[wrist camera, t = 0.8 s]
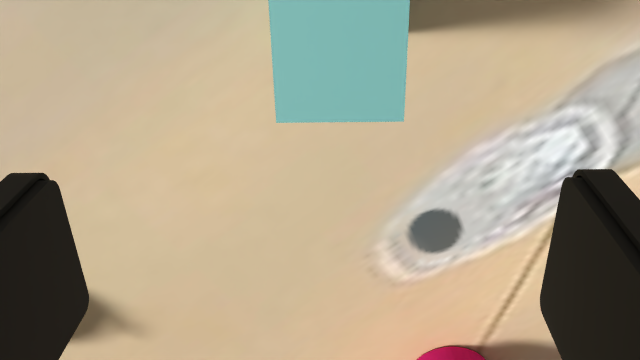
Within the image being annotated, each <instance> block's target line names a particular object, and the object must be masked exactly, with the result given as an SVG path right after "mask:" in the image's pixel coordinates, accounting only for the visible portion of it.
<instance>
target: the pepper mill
mask: <svg viewBox="0 0 640 360" xmlns="http://www.w3.org/2000/svg"><path fill="white" fill-rule="evenodd" d="M417 360H485V359H484V357H483V356H481V355H480V354H478V353H477V352H475V351H472V350H470V349H467V348H462V347H455V346H454V347H442V348H438V349H434V350H432V351H429V352H427V353H425V354H423V355H422V356H421V357H419V358H418V359H417Z"/></svg>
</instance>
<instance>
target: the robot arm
mask: <svg viewBox="0 0 640 360" xmlns="http://www.w3.org/2000/svg"><path fill="white" fill-rule="evenodd" d="M88 303H89V294H88V290H87V286H86V282H85V279H84V275H83V272H82V268H81V264H80V261H79V257H78V253H77V250H76V246H75V243H74V239H73V235H72V232H71V228H70V225H69V221H68V217H67V214H66V210H65V206H64V203H63V199H62V196H61V192H60V189H59V186H58V184H57V183H56V182H55V181H54V180H50V179H49V178H48V176H47V175H46V174H44V173H11V174H9V175H7V176H6V177H5V178H4V179H3V180H2V181H1V182H0V360H59V358H60V356H61V355H62V353H63V351H64V349H65V348H66V346H67V344H68V342H69V341H70V339H71V337H72V336H73V334H74V332H75V330H76V329H77V327H78V325H79V323H80V322H81V320H82V318H83V317H84V315H85V313H86V311H87V308H88ZM540 306H541V311H542V314H543V317H544V319H545V321H546V324H547V326H548V328H549V330H550V333H551V335H552V337H553V340H554V342H555V344H556V346H557V349H558V351H559V353H560V355H561V358H562V360H640V200H639V199H638V197H637V196H636V195H635V194H634V193H633V192H632V191H631V190H630V188H629V187H628V186H627V185H626V184H625V183H624V182H623V180H622V179H621V178H620V177H619V176H618V175H617V174H616V173H615V172H614V171H613V170H612V169H582V170H577V171H576V172H575V173H574V175H573V177H566V178H565V179H564V181H563V184H562V187H561V192H560V197H559V203H558V208H557V213H556V218H555V223H554V228H553V233H552V238H551V243H550V248H549V253H548V258H547V263H546V268H545V274H544V279H543V284H542V289H541V294H540Z"/></svg>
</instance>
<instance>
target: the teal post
mask: <svg viewBox="0 0 640 360" xmlns="http://www.w3.org/2000/svg"><path fill="white" fill-rule="evenodd" d="M268 1H269V16H270V32H271V47H272V63H273V79H274V94H275V110H276V123H293V122H398V121H404V107H405V87H406V67H407V47H408V27H409V7H410V0H268Z"/></svg>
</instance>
